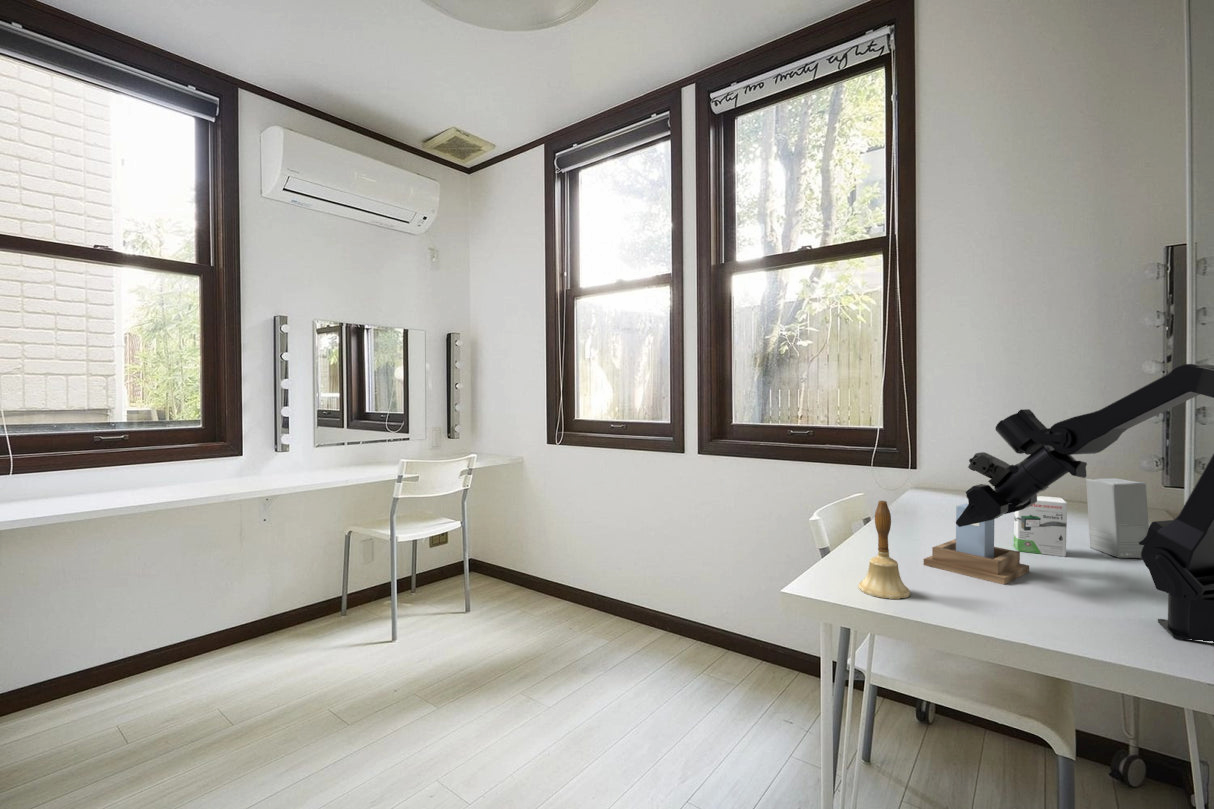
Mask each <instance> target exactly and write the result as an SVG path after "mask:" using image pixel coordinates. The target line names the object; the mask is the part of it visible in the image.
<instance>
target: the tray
mask: <svg viewBox="0 0 1214 809" xmlns="http://www.w3.org/2000/svg"><path fill="white" fill-rule="evenodd" d="M931 551H932V552H931V553H932V555H930V556H927V557H926V558H923V566H928V567H932V568H935V569H940V570H942V571H943V570H944V571H946V572H952V573H955V574H960V575H964V576H968V577H972V578H975V579H981V580H983V581H987V582H992V583H997V584H1000V585H1007V584H1008V583H1010V582H1013V581H1015V579H1017V578H1019V577H1022V576H1024V575H1025V574H1028V573H1029V572H1030V565H1029V564H1024V563H1021V562H1020V560H1021V558H1020V557H1021V556H1020V555H1021V551H1017V550H1013V549H1007V548H1003V547H997V546H994V559H991V558H986V557H982V556H977V555H973V554H968V553H963V552H959V551H956V538H955V539H952V540H949V541H947V542H944V543H940V544H938V545H935V546H933V547H932V550H931Z"/></svg>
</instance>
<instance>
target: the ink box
mask: <svg viewBox="0 0 1214 809" xmlns="http://www.w3.org/2000/svg"><path fill="white" fill-rule="evenodd" d="M1067 520H1068V501H1066V500H1065V499H1063V498H1062V497H1057V496H1056V497H1054V496H1045V495H1041V496H1040V495H1037V502H1036V503H1034V504H1033V505H1031V506H1030V507H1027V508H1024V509H1022V510H1020V511H1016V512H1014V521H1013V522H1014V523H1013V524H1014V525H1013V543H1012V544H1013V545H1012V546H1013V547H1014V549H1015V551H1018V552H1020V553H1021V552H1022V553H1031V554H1037V555H1038V554H1039V555H1045V556H1047V555H1048V556H1057V557H1064V558H1065V557H1067V529H1068V527H1067V525H1068V523H1067Z"/></svg>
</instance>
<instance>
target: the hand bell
mask: <svg viewBox="0 0 1214 809" xmlns="http://www.w3.org/2000/svg"><path fill="white" fill-rule="evenodd" d="M876 506H877V507H876V509H875V512H874V525H875V530H876V532H877V536H878V539H877V540H878V543H877V544H878V545H877V546H878V548H877V550H878V552H877V553H878V554H877V556H874V557H872V558H870V559H869V564H868V570H867V574H866V575H865V577H864V579H863V580H862V581H860V582H859V583H858V584H857V588H858V590H859V589H860V590H861V591H860V590H859V591H860V592H862V593H863V592H864V594H865V593H866V594H865V595H868V594H869V595H868V596H870V595H873V596H872V597H874V596H876V597H875V598H878V597H881V598H880V599H884V598H889V599H888V600H901V599H900V598H904V599H907V598H909V597H910V596H911V591H910V589H909V588H908V587H907V586H906V585H905V584H904V582H903V580H902V578H901V577H902V576H901V574H900V570H899V563H898V562H897V560H895V559H894V558H893V557H891V556H890V549H889V534H890V531H891V526H892V515H891V512H890V508H889V506H888V502H887V501H886V500H878V503H877V505H876Z"/></svg>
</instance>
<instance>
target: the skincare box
mask: <svg viewBox="0 0 1214 809" xmlns="http://www.w3.org/2000/svg"><path fill="white" fill-rule="evenodd" d="M1085 480H1086V481H1085V482H1086V500H1087V515H1088V516H1087V517H1088V531H1089V532H1088V533H1089V548H1090V549H1092V550H1095V551H1098V552H1101V553H1104V554H1107V555H1110V556H1112V557H1115V558H1122V559H1124V558H1127V559H1131V558H1132V559H1141V550H1142V548H1143V546H1144V545H1139V542H1140V541H1142V540H1143V539H1144V538H1145V537H1146V535H1147V533H1148V529H1149V526H1150V524H1149V513H1148V512H1149V511H1148V510H1149V508H1148V497H1147V484H1146V483H1145V482H1139V481H1133V480H1128V479H1123V478H1122V479H1121V478H1115V477H1114V478H1113V477H1112V478H1086V479H1085Z"/></svg>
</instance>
